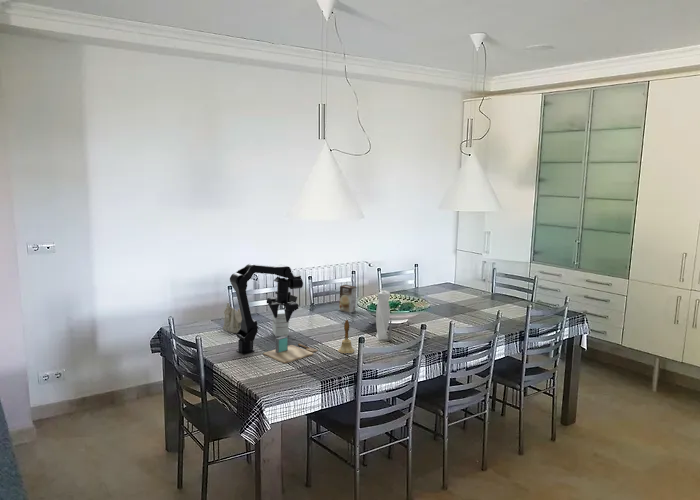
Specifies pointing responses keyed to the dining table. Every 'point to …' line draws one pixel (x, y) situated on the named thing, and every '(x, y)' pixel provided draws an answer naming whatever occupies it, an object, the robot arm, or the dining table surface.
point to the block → (281, 344)
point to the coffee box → (347, 298)
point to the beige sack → (232, 320)
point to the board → (289, 354)
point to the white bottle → (383, 316)
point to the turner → (308, 348)
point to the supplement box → (280, 324)
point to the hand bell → (346, 341)
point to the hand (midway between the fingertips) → (281, 319)
